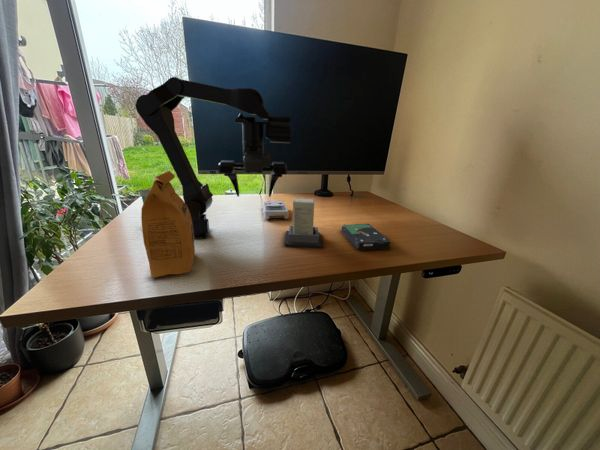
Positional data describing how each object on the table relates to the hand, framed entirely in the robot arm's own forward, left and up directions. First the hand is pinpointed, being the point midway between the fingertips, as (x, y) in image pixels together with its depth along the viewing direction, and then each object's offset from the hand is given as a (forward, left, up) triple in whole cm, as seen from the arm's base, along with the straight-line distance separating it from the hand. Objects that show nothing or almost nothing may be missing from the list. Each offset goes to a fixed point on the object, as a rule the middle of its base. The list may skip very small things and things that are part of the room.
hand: (254, 196), depth 72 cm
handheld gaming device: (+8, +21, -13) cm, 26 cm away
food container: (-35, +24, -13) cm, 44 cm away
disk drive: (+35, -5, -13) cm, 38 cm away
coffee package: (-19, -16, -13) cm, 28 cm away
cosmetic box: (+15, -4, -12) cm, 20 cm away
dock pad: (+15, -4, -13) cm, 20 cm away
